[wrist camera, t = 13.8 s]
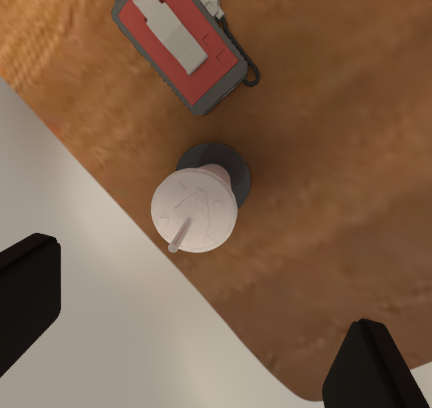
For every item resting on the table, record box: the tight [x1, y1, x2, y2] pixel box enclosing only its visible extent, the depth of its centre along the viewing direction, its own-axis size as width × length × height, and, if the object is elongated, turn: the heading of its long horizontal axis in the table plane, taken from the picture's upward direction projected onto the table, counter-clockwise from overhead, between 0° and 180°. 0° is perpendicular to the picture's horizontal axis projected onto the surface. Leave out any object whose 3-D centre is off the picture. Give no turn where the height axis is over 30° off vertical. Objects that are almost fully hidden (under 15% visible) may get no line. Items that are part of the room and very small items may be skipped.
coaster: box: [176, 142, 251, 209], centre depth 30 cm, size 8×8×1 cm
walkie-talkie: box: [111, 0, 260, 115], centre depth 24 cm, size 9×4×20 cm
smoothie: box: [151, 164, 237, 253], centre depth 23 cm, size 6×6×14 cm
